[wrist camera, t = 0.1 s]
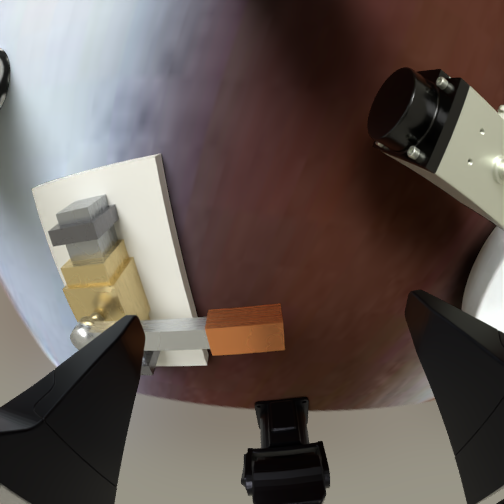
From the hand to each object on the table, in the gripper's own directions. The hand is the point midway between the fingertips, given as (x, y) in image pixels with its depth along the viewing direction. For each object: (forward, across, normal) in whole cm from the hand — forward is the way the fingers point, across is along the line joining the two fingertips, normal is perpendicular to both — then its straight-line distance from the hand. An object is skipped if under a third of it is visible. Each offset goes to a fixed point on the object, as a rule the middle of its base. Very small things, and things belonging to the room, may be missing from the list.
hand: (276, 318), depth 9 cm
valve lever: (+8, +7, +6) cm, 12 cm away
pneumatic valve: (+15, -12, -4) cm, 19 cm away
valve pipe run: (+13, +13, +6) cm, 19 cm away
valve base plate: (+14, +13, +6) cm, 20 cm away
